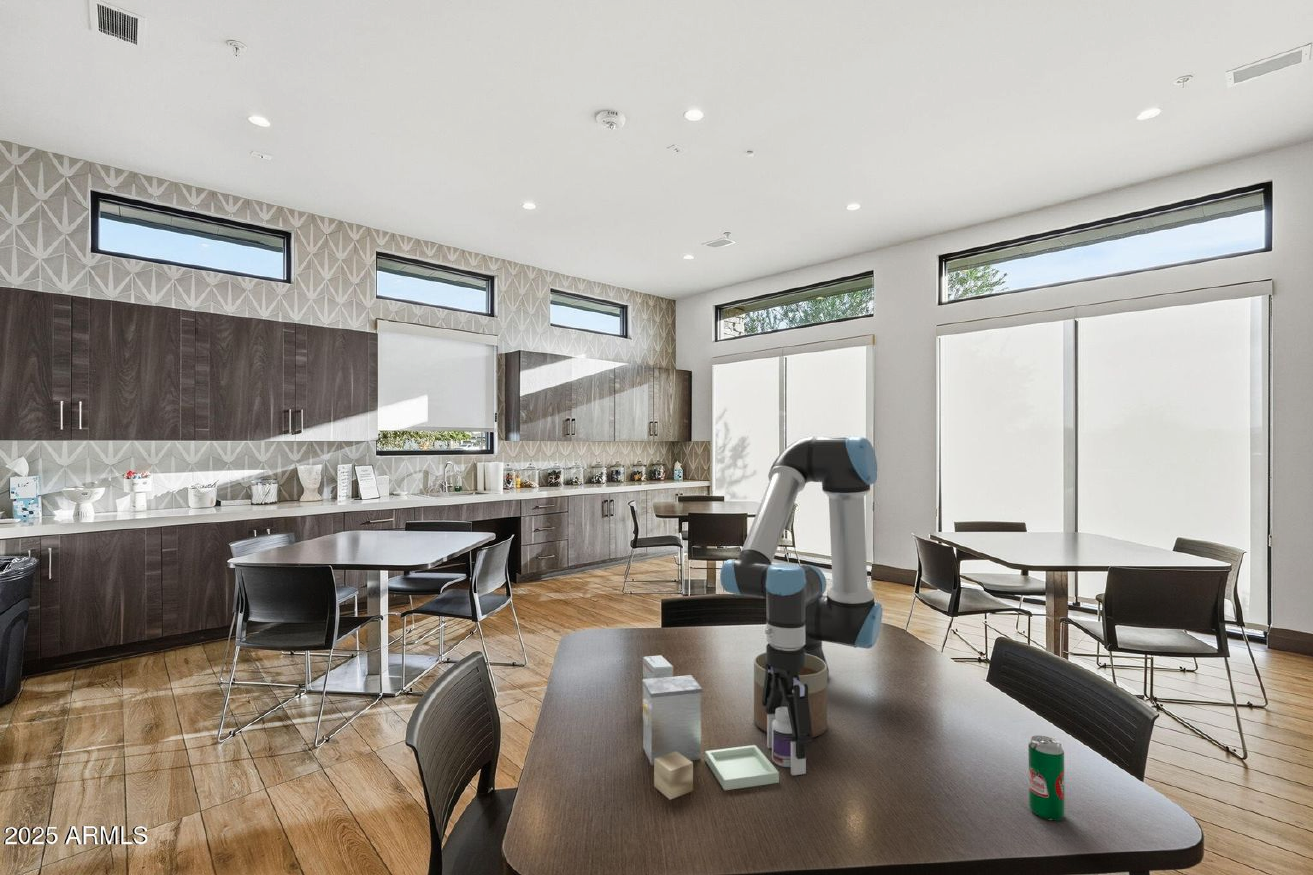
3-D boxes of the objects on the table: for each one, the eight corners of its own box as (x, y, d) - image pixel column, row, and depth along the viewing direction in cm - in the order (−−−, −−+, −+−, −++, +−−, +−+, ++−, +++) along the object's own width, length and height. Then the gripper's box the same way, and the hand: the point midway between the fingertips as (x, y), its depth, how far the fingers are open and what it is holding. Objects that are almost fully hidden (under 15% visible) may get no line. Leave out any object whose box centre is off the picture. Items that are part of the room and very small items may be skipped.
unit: (692, 741, 125) (692, 674, 125) (703, 759, 118) (704, 688, 118) (640, 747, 122) (640, 679, 122) (648, 766, 115) (649, 693, 115)
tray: (755, 753, 120) (755, 744, 120) (778, 782, 109) (779, 772, 109) (705, 760, 117) (705, 751, 117) (724, 790, 107) (724, 780, 107)
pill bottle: (804, 766, 115) (804, 715, 115) (777, 769, 114) (777, 717, 114) (793, 752, 120) (793, 703, 120) (767, 754, 119) (767, 705, 120)
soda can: (1021, 805, 103) (1021, 734, 103) (1049, 803, 103) (1049, 733, 103) (1043, 823, 98) (1042, 749, 98) (1072, 821, 98) (1071, 748, 98)
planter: (747, 734, 128) (747, 669, 128) (760, 705, 143) (760, 647, 143) (824, 747, 122) (824, 679, 123) (829, 715, 137) (829, 655, 138)
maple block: (676, 778, 111) (676, 751, 111) (692, 791, 107) (693, 762, 107) (654, 786, 108) (654, 758, 108) (670, 800, 104) (670, 771, 104)
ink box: (674, 718, 135) (674, 665, 136) (654, 721, 134) (654, 668, 134) (661, 703, 144) (661, 653, 144) (641, 706, 142) (641, 656, 142)
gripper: (745, 629, 128) (745, 735, 127) (794, 666, 106) (794, 793, 105) (778, 627, 129) (778, 731, 129) (832, 662, 108) (833, 788, 107)
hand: (785, 759), depth 117 cm, fingers open, 10 cm apart
